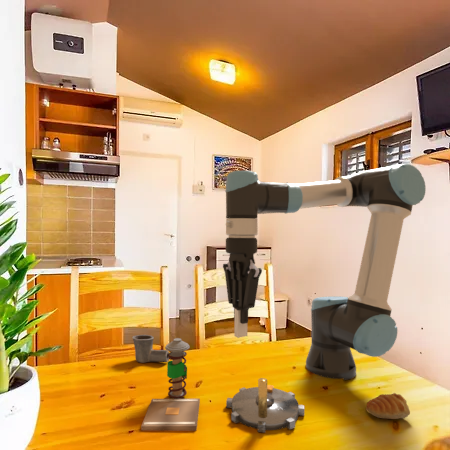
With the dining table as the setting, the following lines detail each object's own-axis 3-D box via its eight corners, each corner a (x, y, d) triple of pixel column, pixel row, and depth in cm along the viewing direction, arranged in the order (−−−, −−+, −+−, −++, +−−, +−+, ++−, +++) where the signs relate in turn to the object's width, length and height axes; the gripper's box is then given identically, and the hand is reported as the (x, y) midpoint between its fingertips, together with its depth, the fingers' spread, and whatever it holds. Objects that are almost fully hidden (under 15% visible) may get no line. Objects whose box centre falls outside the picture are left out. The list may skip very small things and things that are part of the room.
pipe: (164, 367, 110) (164, 342, 110) (127, 363, 113) (128, 338, 113) (171, 360, 116) (172, 336, 116) (137, 356, 119) (137, 333, 119)
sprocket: (233, 389, 95) (233, 352, 95) (303, 395, 91) (303, 357, 91) (219, 428, 77) (219, 382, 77) (305, 438, 73) (305, 390, 73)
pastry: (377, 423, 78) (378, 407, 78) (359, 407, 85) (359, 391, 85) (412, 417, 80) (413, 401, 80) (392, 402, 87) (392, 387, 87)
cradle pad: (199, 402, 88) (199, 398, 88) (196, 430, 76) (196, 425, 76) (152, 402, 88) (152, 398, 88) (141, 430, 76) (141, 425, 76)
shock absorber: (194, 395, 92) (194, 338, 92) (178, 405, 86) (179, 345, 86) (175, 388, 95) (176, 334, 95) (159, 398, 90) (159, 340, 90)
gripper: (214, 236, 86) (213, 331, 86) (244, 237, 75) (243, 346, 75) (238, 235, 90) (238, 326, 90) (271, 237, 79) (270, 341, 79)
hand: (240, 335), depth 82 cm, fingers closed
